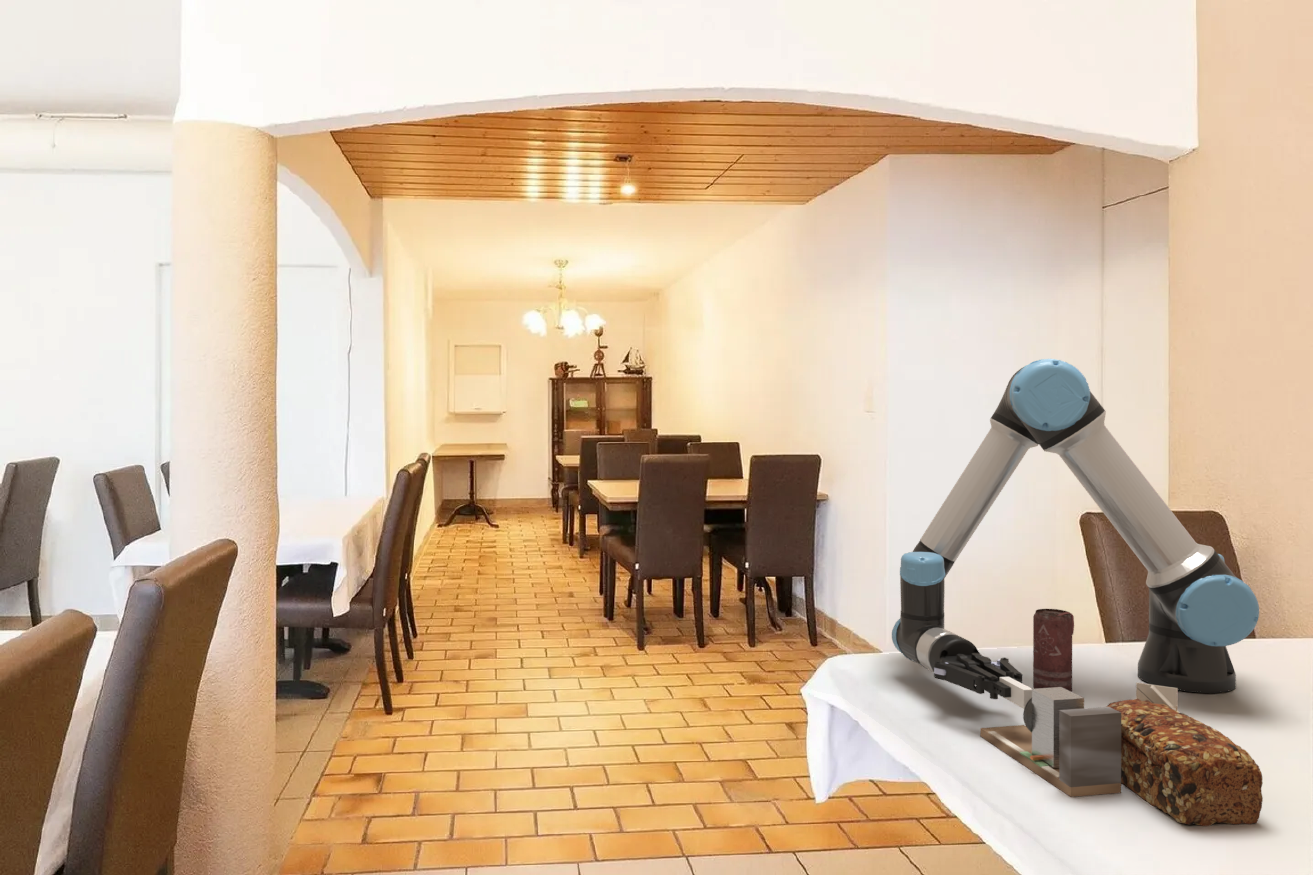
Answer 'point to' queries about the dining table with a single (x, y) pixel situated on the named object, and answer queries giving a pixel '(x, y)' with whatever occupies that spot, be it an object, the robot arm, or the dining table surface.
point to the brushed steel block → (1048, 720)
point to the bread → (1186, 766)
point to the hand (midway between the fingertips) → (1028, 699)
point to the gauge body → (1072, 750)
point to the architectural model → (1158, 694)
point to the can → (1052, 648)
